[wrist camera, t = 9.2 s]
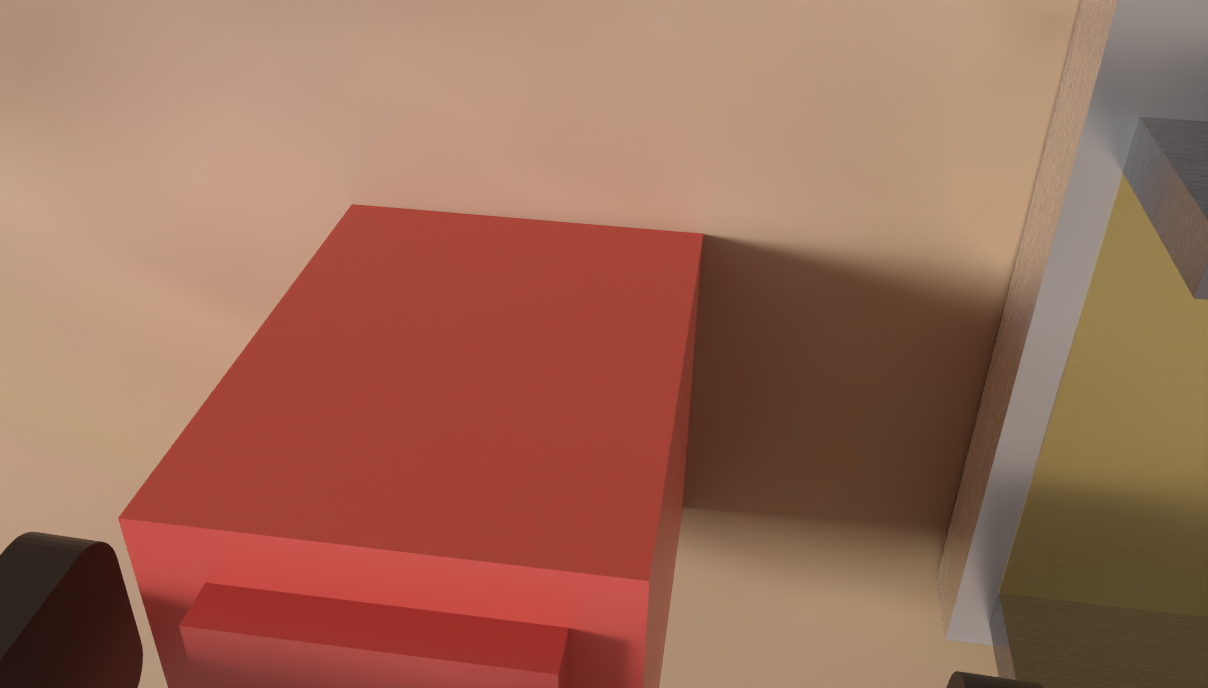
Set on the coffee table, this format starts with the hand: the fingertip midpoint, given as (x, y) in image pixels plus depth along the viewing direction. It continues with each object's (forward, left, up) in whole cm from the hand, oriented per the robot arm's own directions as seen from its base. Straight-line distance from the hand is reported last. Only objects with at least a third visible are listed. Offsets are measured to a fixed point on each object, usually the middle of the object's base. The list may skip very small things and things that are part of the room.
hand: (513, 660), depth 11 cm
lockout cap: (0, +1, -5) cm, 5 cm away
